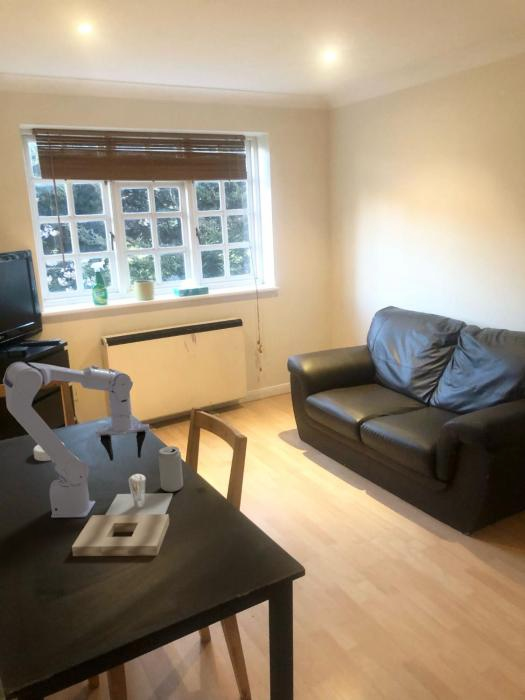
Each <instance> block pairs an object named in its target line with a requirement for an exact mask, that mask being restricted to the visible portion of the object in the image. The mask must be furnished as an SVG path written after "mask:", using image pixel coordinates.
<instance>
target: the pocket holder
mask: <svg viewBox="0 0 525 700" xmlns="http://www.w3.org/2000/svg"><path fill="white" fill-rule="evenodd" d="M169 524H170V515H169V514H168V513H167V514H146V515H105V514H96V515H95V514H91V516H90V518H89V519H88V521H87V523H86V524H85V525H84V528H83V529H82V530H81V532H80V533H79V535H78V536H77V538H76V539H75V541H74V542H73V544H72V546H71V550H72V557H99V556H100V557H109V556H111V557H114V556H117V557H119V556H120V557H123V556H124V557H125V556H128V557H131V556H137V557H138V556H158V554H159V552H160V549H161V547H162V544H163V541H164V539H165V535H166V533H167V531H168V528H169ZM129 532H130V533H131V532H133V533H132V535H131V536H114V535H115V533H129Z"/></svg>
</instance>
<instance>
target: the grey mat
mask: <svg viewBox="0 0 525 700" xmlns="http://www.w3.org/2000/svg"><path fill="white" fill-rule="evenodd" d="M173 493H174V492H166V493H164V492H163V493H146V506H145V507H144V508H142V509H135V508H134V506H133V501H132V496H131V493H117V494H116V496H115V497H114V499H113V501H112V503H111V505H110V506H109V507H108V510H107V511H106V512H105V514H104V515H146V514H166V513H167V511H168V508H169V506H170V503H171V500H172V498H173V496H174V494H173Z"/></svg>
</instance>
